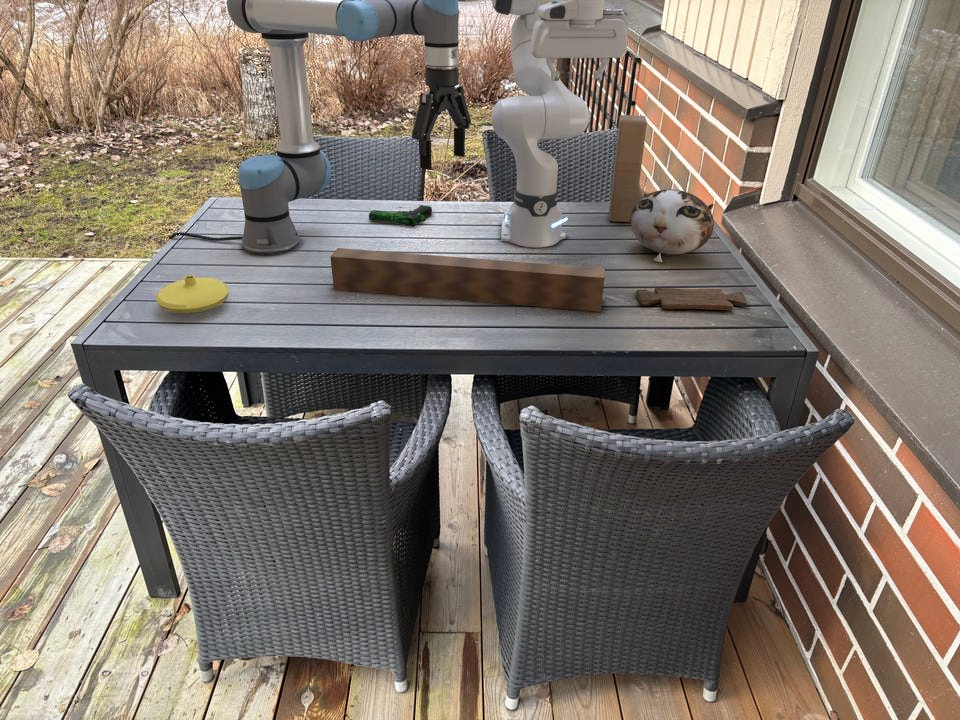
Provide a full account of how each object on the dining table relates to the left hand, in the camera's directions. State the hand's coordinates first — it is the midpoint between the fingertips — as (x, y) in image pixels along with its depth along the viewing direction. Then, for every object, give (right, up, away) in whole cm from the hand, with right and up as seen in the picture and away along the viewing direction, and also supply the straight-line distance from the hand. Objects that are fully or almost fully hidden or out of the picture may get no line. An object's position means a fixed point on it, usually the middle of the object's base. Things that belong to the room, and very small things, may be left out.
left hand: (443, 162), depth 169 cm
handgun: (-15, -4, +48) cm, 50 cm away
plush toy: (+60, -18, +27) cm, 68 cm away
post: (+5, -31, +2) cm, 32 cm away
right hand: (+29, +13, -16) cm, 36 cm away
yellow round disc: (-57, -34, -5) cm, 67 cm away
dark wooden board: (+59, -33, +1) cm, 68 cm away
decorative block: (+56, -4, +50) cm, 75 cm away
